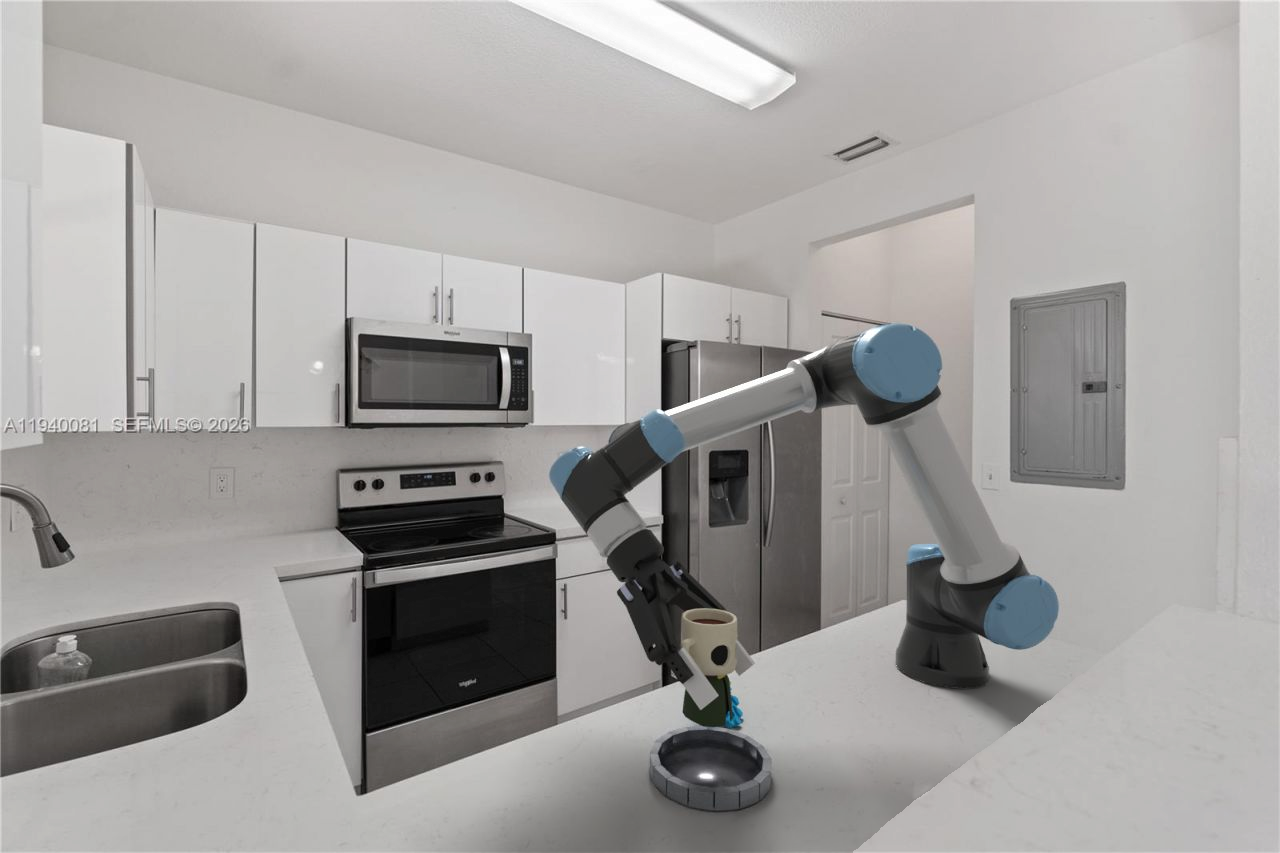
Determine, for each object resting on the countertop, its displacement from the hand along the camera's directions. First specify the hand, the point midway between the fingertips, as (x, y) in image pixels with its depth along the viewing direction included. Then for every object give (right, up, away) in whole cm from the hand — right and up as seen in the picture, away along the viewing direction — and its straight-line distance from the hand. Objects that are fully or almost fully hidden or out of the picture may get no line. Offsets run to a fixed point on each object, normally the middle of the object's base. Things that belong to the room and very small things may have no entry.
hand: (729, 685), depth 73 cm
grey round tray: (-2, -12, +2) cm, 12 cm away
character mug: (-3, -5, +2) cm, 6 cm away
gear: (+1, -12, +16) cm, 20 cm away
